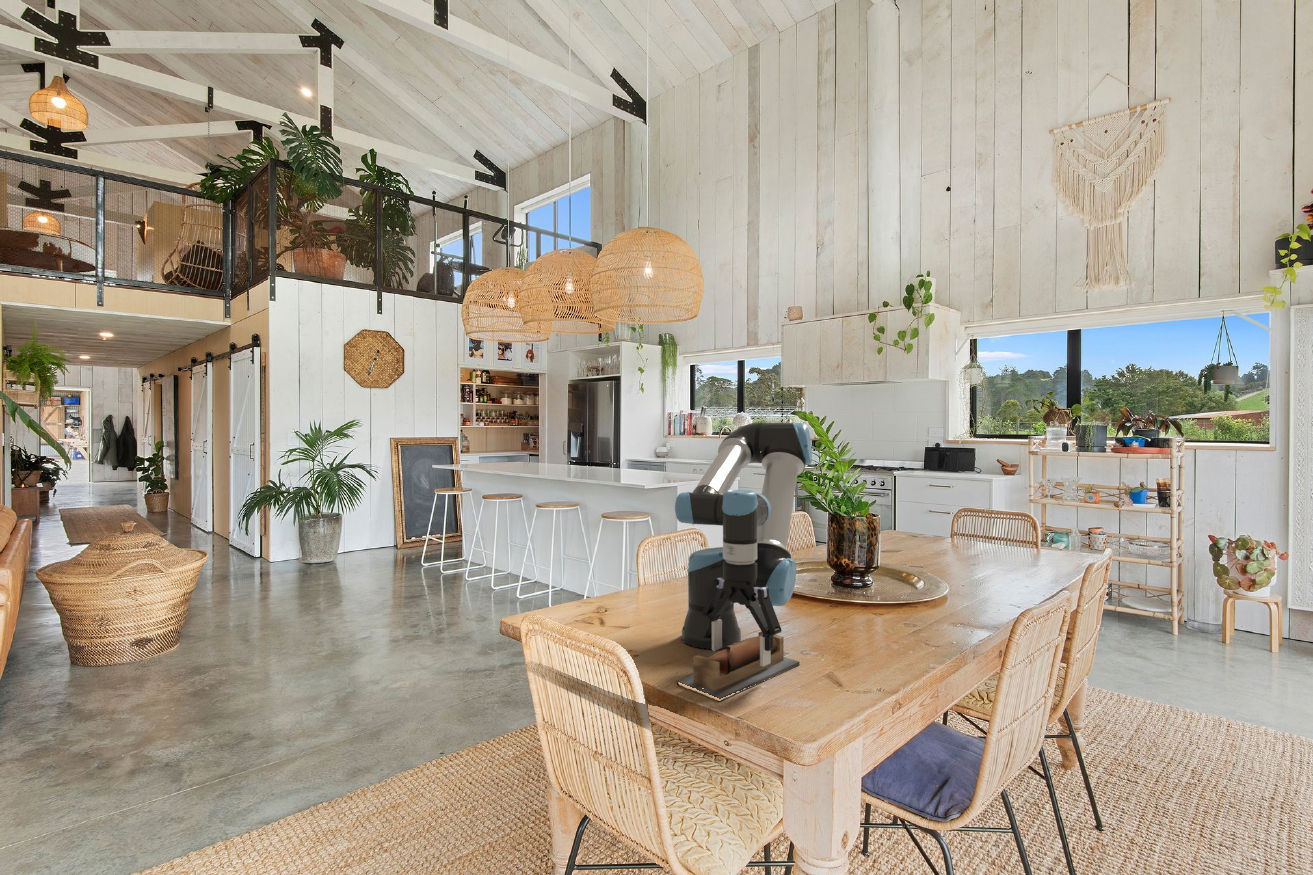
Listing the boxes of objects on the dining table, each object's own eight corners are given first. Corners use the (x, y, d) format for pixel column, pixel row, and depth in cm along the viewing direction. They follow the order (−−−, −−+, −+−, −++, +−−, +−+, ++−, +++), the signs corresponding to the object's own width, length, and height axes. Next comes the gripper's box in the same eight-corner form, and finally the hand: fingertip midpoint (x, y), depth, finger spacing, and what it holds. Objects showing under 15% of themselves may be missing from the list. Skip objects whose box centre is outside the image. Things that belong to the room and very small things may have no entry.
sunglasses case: (746, 642, 155) (759, 621, 153) (768, 664, 151) (781, 642, 149) (699, 664, 142) (711, 641, 139) (721, 688, 138) (735, 665, 135)
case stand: (676, 684, 140) (676, 655, 140) (757, 652, 160) (757, 626, 160) (719, 701, 132) (719, 670, 132) (799, 665, 151) (799, 637, 151)
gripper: (687, 555, 151) (687, 646, 152) (776, 572, 134) (776, 676, 134) (708, 550, 157) (709, 639, 157) (797, 566, 139) (797, 666, 139)
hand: (740, 656), depth 146 cm, fingers open, 13 cm apart
